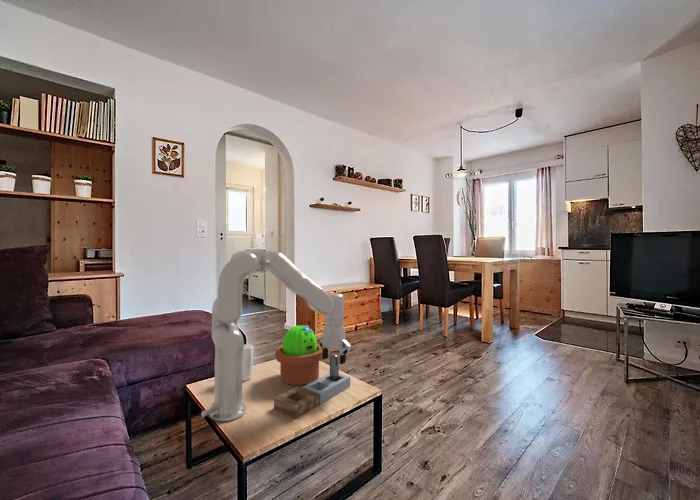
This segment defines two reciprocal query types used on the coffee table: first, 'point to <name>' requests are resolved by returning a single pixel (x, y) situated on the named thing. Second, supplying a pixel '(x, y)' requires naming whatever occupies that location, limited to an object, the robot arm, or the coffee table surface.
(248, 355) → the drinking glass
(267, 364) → the coffee table surface
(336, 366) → the metal peg
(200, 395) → the coffee table surface
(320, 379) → the peg rack
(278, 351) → the potted cactus
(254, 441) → the coffee table surface
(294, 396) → the socket block
